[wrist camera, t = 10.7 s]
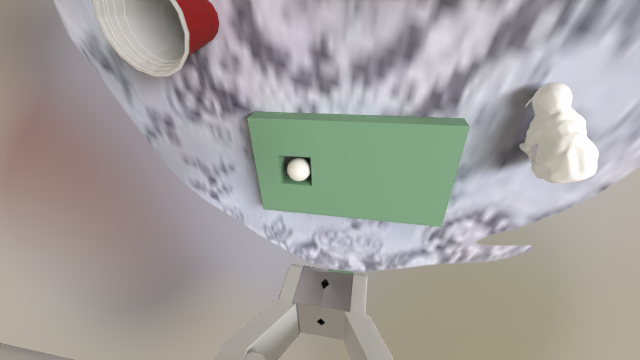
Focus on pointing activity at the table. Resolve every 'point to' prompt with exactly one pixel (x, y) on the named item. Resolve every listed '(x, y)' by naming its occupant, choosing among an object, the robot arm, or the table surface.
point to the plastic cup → (156, 31)
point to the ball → (298, 169)
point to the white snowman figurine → (558, 138)
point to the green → (359, 164)
